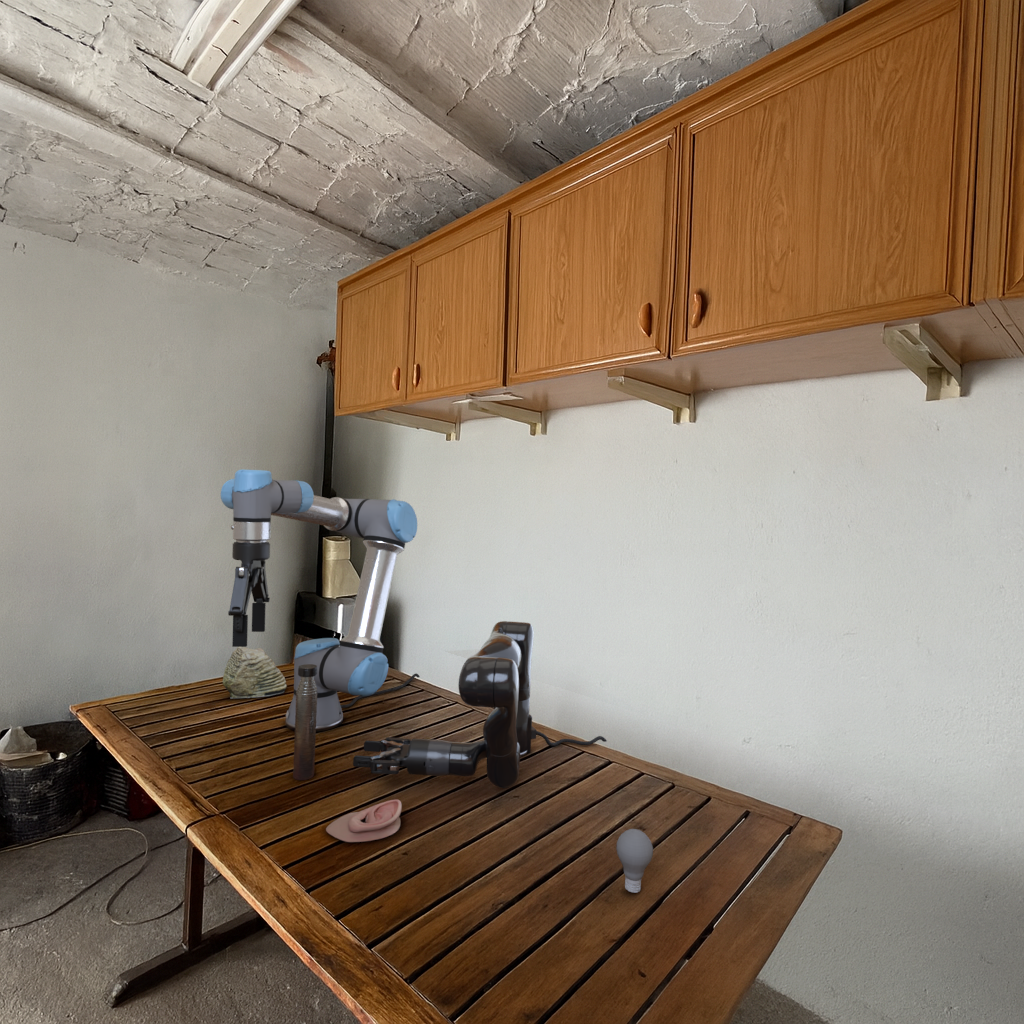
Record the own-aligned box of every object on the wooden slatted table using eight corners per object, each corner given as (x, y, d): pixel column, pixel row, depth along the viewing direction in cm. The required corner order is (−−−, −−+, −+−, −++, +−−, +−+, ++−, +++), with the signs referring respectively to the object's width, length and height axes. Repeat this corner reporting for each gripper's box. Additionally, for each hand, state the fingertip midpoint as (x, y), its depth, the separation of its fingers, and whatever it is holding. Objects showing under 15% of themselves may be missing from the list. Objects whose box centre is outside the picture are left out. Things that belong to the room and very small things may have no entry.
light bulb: (610, 879, 108) (613, 822, 108) (644, 879, 109) (647, 822, 109) (619, 902, 102) (622, 840, 102) (655, 901, 103) (658, 840, 103)
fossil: (218, 695, 195) (220, 647, 195) (278, 685, 208) (279, 640, 207) (228, 703, 189) (230, 653, 188) (289, 692, 201) (290, 645, 201)
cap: (295, 676, 141) (295, 668, 141) (302, 671, 145) (302, 663, 145) (312, 677, 141) (313, 669, 141) (319, 672, 145) (319, 664, 145)
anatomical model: (318, 816, 117) (346, 789, 129) (317, 837, 118) (346, 808, 129) (385, 827, 115) (408, 798, 126) (384, 848, 115) (407, 818, 126)
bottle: (289, 779, 141) (293, 670, 141) (297, 771, 146) (301, 664, 145) (309, 781, 141) (313, 671, 140) (317, 772, 145) (321, 666, 145)
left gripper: (250, 536, 149) (248, 625, 149) (213, 546, 124) (211, 653, 125) (283, 537, 150) (281, 626, 150) (253, 547, 125) (250, 653, 126)
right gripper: (436, 729, 149) (367, 725, 149) (426, 753, 134) (350, 749, 135) (434, 760, 149) (366, 756, 149) (424, 788, 135) (349, 783, 135)
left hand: (249, 638), depth 138 cm, fingers open, 13 cm apart
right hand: (359, 753), depth 142 cm, fingers open, 8 cm apart
